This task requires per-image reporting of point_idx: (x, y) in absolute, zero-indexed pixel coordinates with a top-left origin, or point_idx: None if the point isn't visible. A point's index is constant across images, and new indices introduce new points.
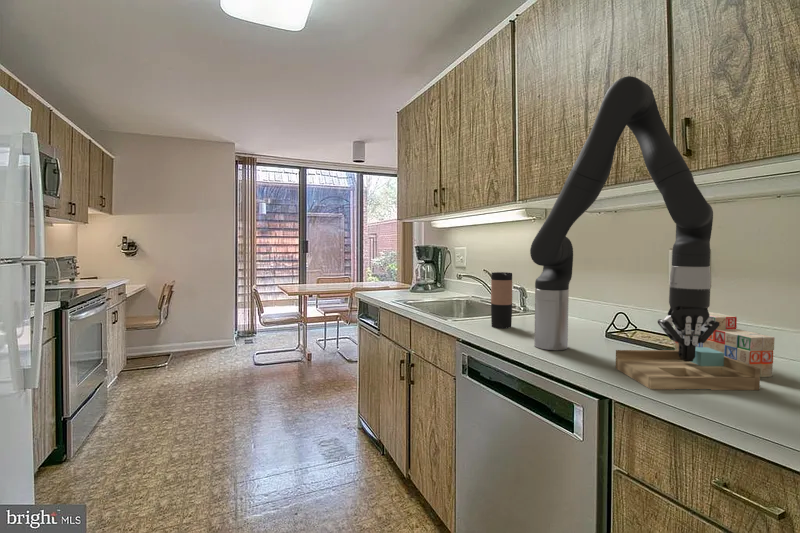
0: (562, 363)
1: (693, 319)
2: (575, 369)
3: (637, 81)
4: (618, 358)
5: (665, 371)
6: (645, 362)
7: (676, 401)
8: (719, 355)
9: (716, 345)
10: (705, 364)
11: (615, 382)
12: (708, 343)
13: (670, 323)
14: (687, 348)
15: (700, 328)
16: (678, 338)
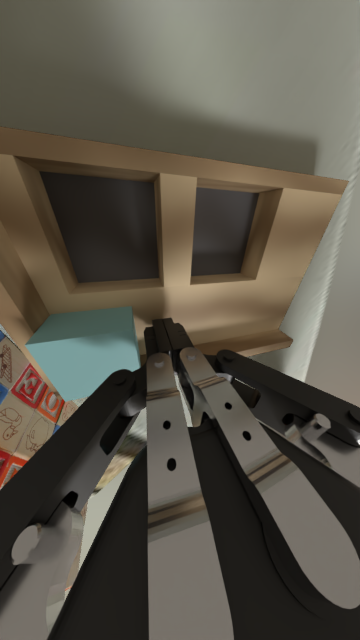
0: (307, 334)
1: (220, 555)
2: (317, 309)
3: None
4: (279, 330)
5: (232, 277)
6: (248, 316)
7: (351, 49)
8: (53, 335)
9: (12, 436)
10: (116, 310)
11: (327, 242)
12: (33, 446)
13: (320, 434)
14: (181, 340)
15: (151, 449)
16: (235, 362)
